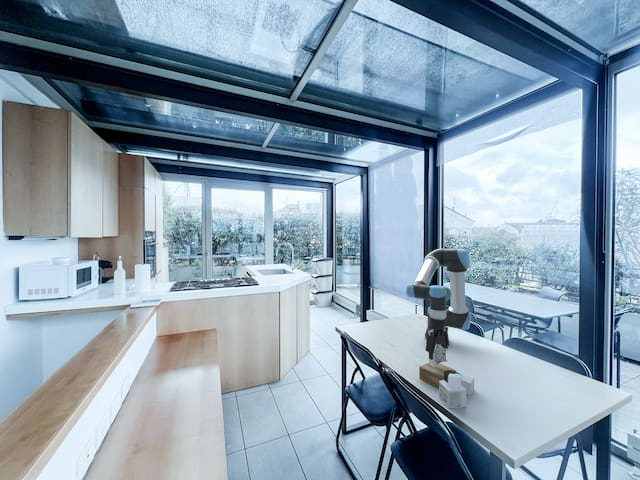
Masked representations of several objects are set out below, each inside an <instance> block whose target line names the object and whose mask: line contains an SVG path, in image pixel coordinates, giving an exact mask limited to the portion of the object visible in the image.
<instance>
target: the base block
mask: <svg viewBox="0 0 640 480" xmlns="http://www.w3.org/2000/svg"><path fill="white" fill-rule="evenodd" d="M446 370H453V371H456V372H457V370H456V369H455V368H454V369H453V368H451V367H450V366H447V365H445V364H442V363H441V362H440V363H438V365H437V363H436V362H435V367H433V366H431V365H429V362H427V363H424V364H423V365H419V371H418V372H419V373H418V375H419V379H420V380H421V381H423V382H425V383H427V384H429V385H431V386H432V387H435V388H437V389H438V390H439V381H441V380H444V372H445V371H446Z"/></svg>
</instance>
